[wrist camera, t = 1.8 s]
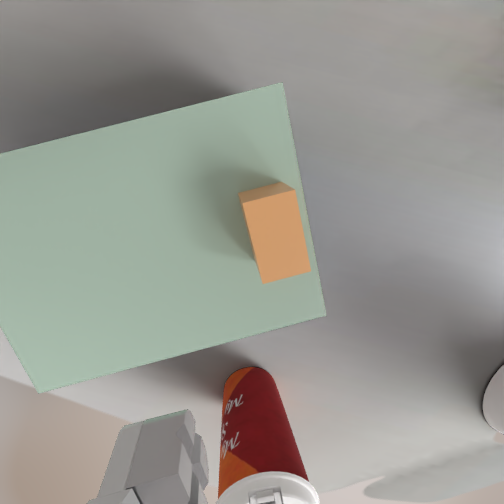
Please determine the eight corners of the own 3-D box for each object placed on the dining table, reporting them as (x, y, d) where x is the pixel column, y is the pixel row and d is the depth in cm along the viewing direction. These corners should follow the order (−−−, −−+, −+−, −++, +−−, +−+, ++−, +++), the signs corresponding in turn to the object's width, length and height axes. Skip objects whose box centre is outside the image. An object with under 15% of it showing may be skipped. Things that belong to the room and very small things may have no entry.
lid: (278, 85, 21) (297, 67, 16) (322, 308, 27) (346, 345, 22) (-70, 173, 21) (-158, 183, 16) (46, 382, 26) (7, 438, 21)
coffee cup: (208, 363, 37) (204, 502, 23) (282, 352, 37) (323, 481, 23) (219, 423, 39) (221, 580, 25) (287, 411, 40) (327, 559, 26)
